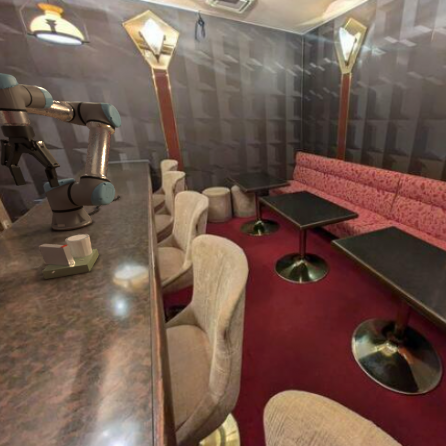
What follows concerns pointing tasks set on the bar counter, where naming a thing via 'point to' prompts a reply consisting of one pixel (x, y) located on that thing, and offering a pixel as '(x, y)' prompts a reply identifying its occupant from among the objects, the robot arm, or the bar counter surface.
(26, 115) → the robot arm
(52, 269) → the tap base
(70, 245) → the white cylinder
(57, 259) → the white flat box
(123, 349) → the bar counter surface
